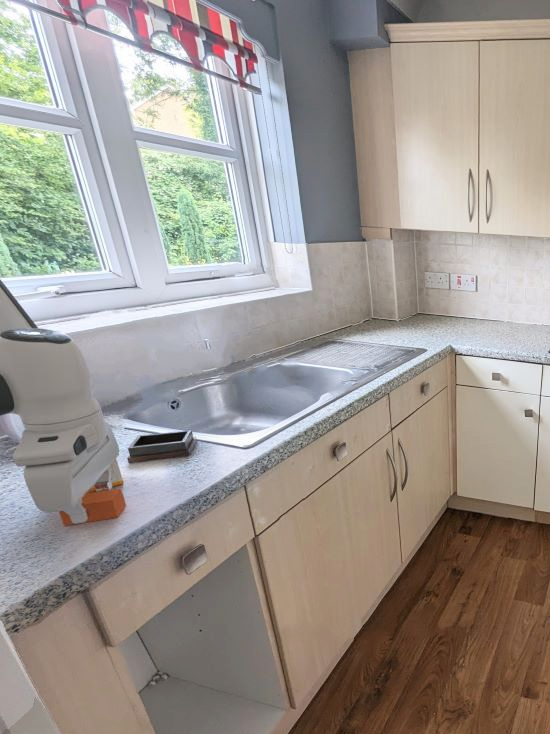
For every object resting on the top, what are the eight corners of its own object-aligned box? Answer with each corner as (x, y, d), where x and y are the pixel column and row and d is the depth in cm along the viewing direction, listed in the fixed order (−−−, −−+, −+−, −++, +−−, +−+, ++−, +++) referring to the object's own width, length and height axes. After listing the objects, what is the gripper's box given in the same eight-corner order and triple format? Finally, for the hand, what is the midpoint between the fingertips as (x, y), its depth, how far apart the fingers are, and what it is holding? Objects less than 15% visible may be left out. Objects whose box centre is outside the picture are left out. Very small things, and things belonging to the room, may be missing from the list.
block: (63, 526, 74) (57, 508, 73) (74, 512, 78) (68, 495, 77) (118, 517, 77) (112, 499, 76) (126, 505, 81) (121, 488, 79)
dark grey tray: (128, 463, 94) (124, 449, 93) (140, 448, 101) (136, 434, 99) (189, 455, 98) (186, 442, 97) (197, 441, 105) (194, 428, 104)
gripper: (72, 410, 80) (95, 479, 84) (4, 462, 62) (38, 545, 67) (118, 406, 82) (137, 473, 87) (65, 455, 65) (93, 535, 69)
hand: (94, 505), depth 77 cm, fingers open, 8 cm apart
